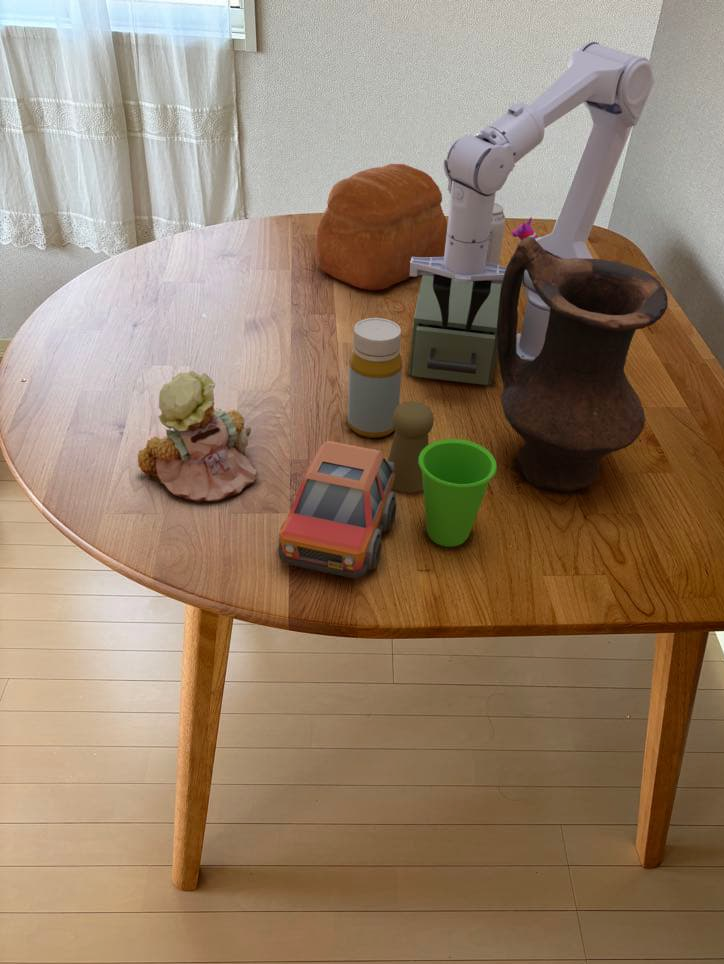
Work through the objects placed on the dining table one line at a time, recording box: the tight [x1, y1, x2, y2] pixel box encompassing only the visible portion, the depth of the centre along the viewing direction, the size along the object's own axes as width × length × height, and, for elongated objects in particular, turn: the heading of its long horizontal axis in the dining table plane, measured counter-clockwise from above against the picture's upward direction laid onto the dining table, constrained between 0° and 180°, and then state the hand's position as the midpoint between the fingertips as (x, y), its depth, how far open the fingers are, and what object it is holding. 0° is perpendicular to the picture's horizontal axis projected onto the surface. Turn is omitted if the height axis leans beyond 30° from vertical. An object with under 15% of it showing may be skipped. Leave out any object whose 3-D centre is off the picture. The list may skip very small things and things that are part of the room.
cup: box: [418, 438, 498, 548], centre depth 108 cm, size 9×9×11 cm
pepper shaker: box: [387, 400, 435, 494], centre depth 115 cm, size 6×6×11 cm
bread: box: [314, 163, 448, 291], centre depth 160 cm, size 18×22×17 cm
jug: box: [496, 237, 669, 493], centre depth 114 cm, size 21×18×30 cm
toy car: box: [277, 439, 397, 579], centre depth 106 cm, size 12×17×10 cm
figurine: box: [137, 370, 258, 503], centre depth 112 cm, size 15×14×15 cm
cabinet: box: [408, 275, 502, 386], centre depth 141 cm, size 15×13×10 cm
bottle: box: [347, 317, 403, 439], centre depth 123 cm, size 7×7×15 cm
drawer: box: [411, 324, 495, 386], centre depth 137 cm, size 18×11×8 cm, turn 174°
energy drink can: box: [486, 202, 507, 265], centre depth 157 cm, size 6×6×15 cm
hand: (456, 327), depth 129 cm, fingers open, 3 cm apart
